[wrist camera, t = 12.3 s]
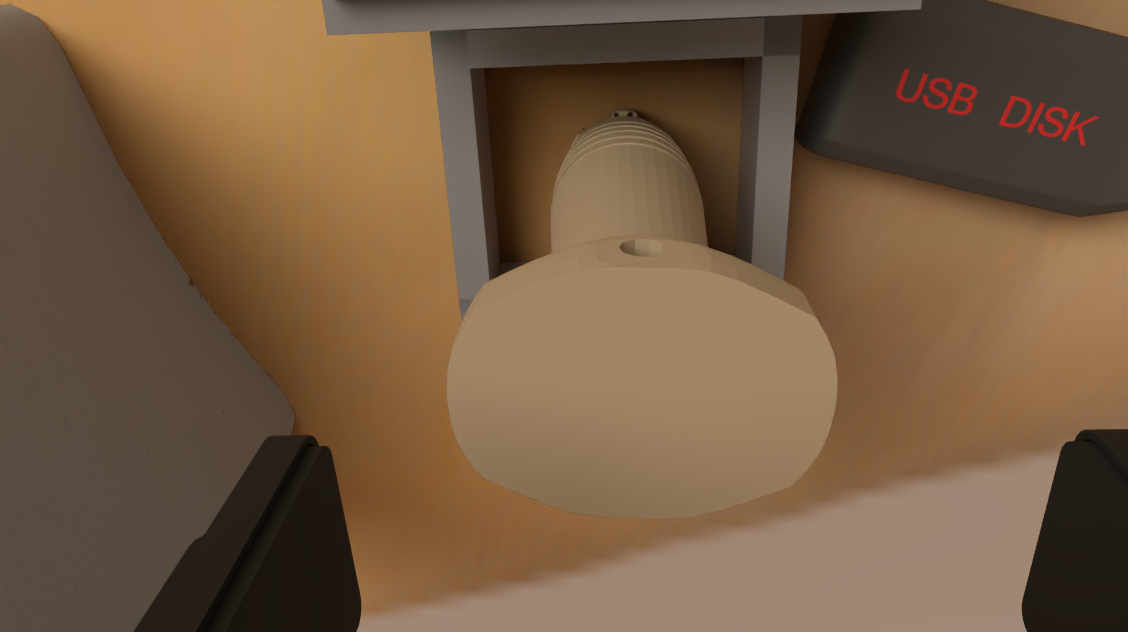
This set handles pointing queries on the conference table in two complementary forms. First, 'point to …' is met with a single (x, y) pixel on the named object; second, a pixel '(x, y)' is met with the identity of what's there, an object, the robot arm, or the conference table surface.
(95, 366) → the flask
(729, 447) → the handle
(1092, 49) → the usb drive
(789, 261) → the conference table surface
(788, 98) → the green box on stand
